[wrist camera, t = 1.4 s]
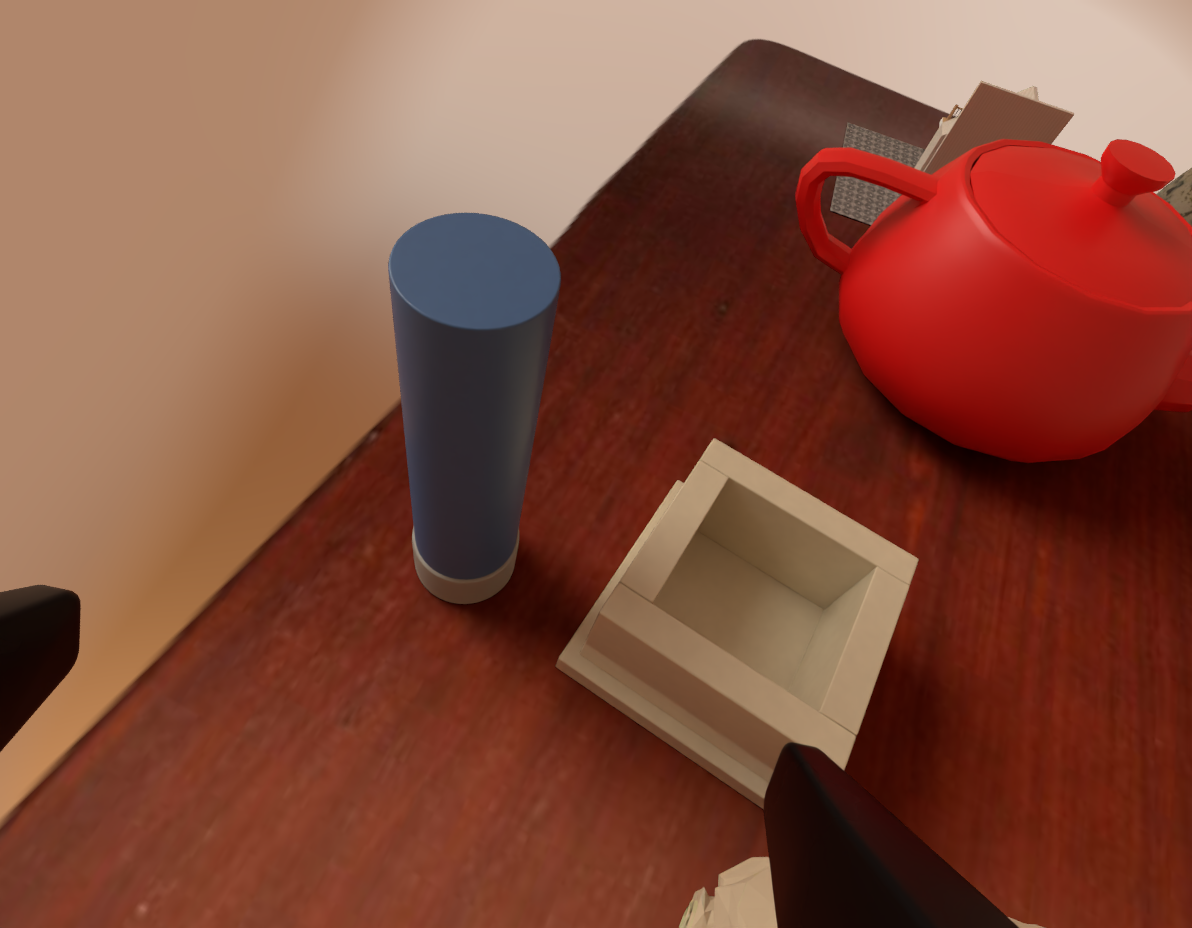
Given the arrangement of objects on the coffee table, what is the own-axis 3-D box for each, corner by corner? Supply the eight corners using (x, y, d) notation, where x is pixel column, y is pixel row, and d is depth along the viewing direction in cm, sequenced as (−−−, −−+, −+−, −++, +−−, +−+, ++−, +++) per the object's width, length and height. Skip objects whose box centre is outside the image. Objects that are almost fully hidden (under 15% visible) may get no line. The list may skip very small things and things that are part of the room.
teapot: (707, 373, 33) (820, 137, 23) (782, 205, 42) (887, -19, 32) (1216, 597, 31) (1585, 446, 21) (1182, 371, 40) (1430, 188, 30)
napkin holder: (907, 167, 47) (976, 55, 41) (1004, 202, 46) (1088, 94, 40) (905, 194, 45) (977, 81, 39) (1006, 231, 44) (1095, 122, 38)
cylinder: (475, 624, 24) (496, 364, 13) (393, 567, 25) (341, 269, 13) (534, 548, 26) (598, 264, 15) (456, 497, 27) (460, 186, 15)
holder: (780, 822, 22) (855, 802, 18) (554, 666, 24) (575, 615, 20) (864, 609, 27) (937, 556, 23) (671, 491, 29) (707, 421, 25)
